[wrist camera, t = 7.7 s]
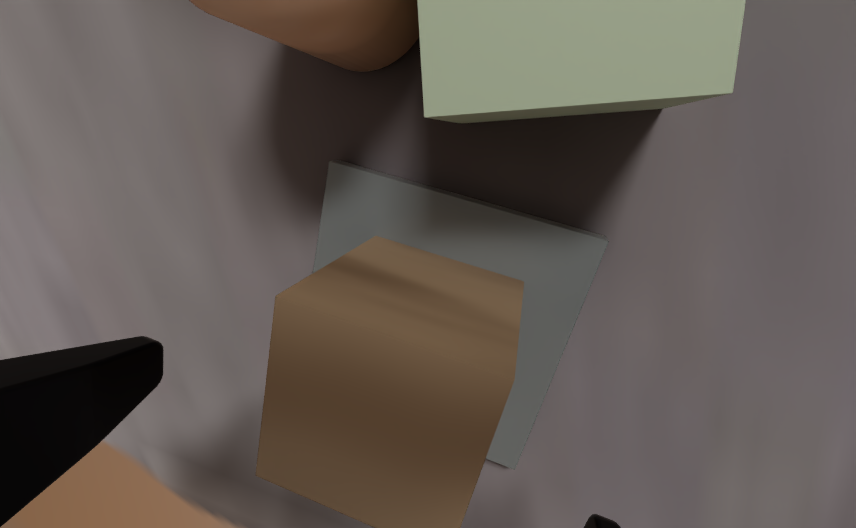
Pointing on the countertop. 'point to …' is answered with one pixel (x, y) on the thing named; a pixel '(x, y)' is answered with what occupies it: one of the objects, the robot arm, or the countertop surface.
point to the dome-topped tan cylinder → (329, 27)
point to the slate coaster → (482, 247)
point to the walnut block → (389, 383)
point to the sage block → (573, 56)
